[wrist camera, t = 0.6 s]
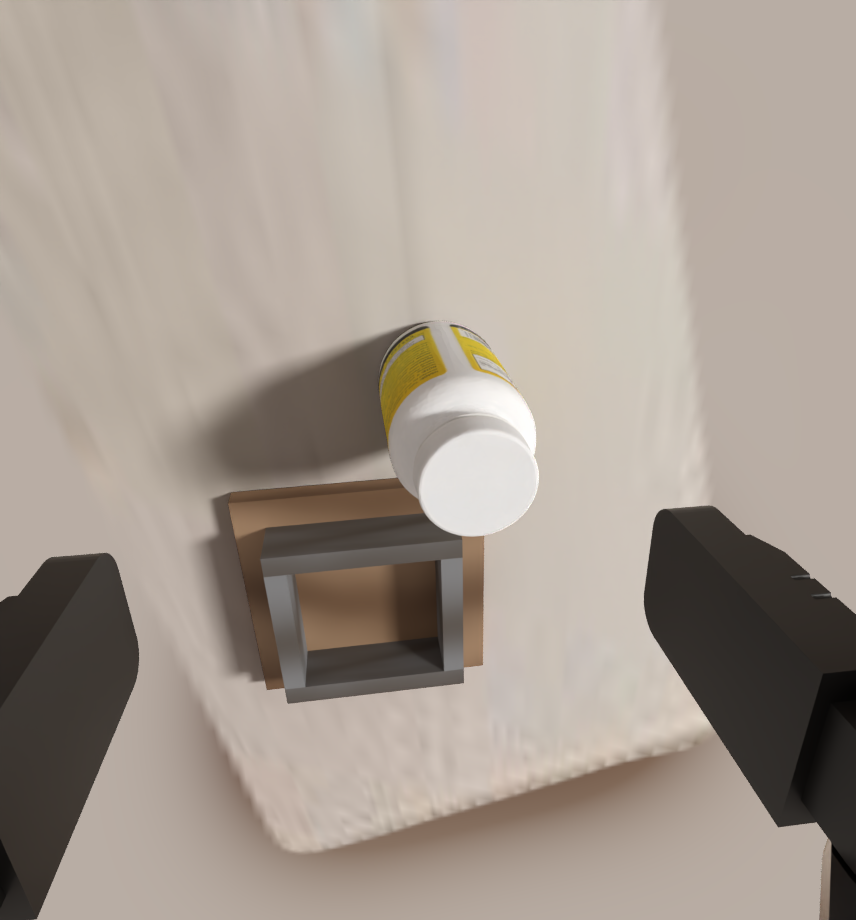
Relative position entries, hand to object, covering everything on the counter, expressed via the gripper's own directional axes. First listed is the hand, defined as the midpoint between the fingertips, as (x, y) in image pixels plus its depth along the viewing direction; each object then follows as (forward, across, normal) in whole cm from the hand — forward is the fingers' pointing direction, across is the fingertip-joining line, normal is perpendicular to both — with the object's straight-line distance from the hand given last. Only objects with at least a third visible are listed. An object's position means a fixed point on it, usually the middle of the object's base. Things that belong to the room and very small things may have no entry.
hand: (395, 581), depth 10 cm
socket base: (+20, +1, +14) cm, 25 cm away
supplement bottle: (+20, -3, +3) cm, 20 cm away
